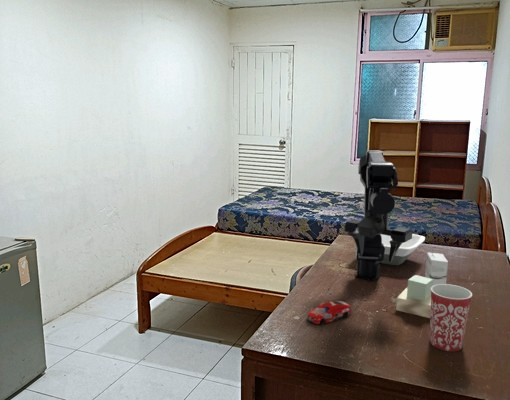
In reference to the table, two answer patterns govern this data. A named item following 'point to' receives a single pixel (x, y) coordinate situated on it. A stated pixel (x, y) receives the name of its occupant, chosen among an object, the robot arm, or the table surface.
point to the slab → (413, 305)
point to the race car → (329, 312)
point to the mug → (448, 316)
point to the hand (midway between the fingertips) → (375, 258)
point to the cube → (419, 287)
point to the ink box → (436, 268)
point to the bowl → (400, 249)
